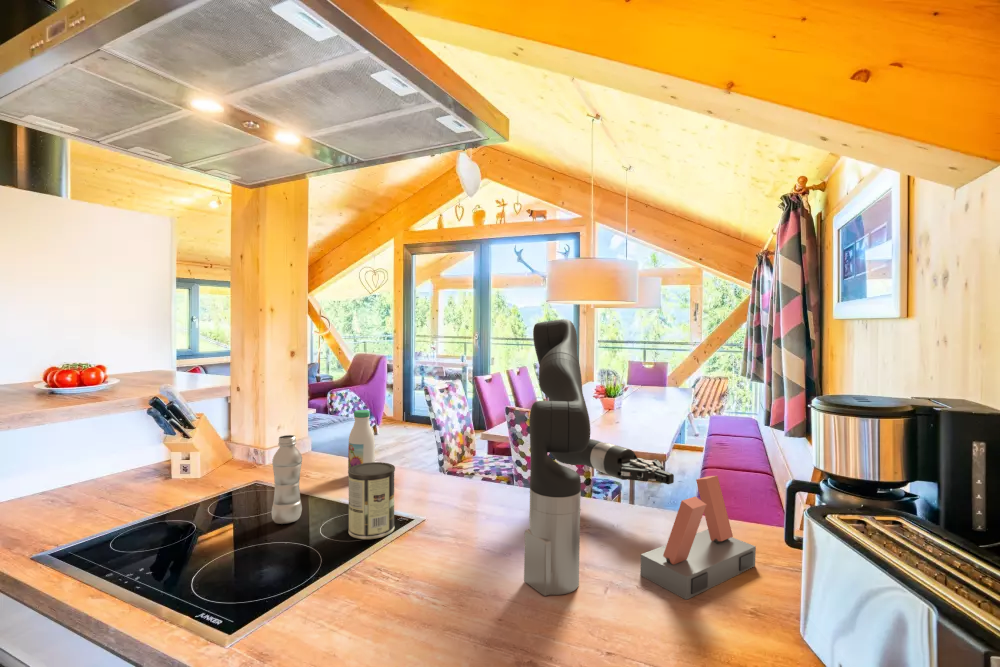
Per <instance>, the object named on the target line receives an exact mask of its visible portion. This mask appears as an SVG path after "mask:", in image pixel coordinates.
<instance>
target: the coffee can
mask: <svg viewBox="0 0 1000 667" xmlns="http://www.w3.org/2000/svg"><path fill="white" fill-rule="evenodd" d="M347 469H348V468H347ZM395 471H396V467H395V465H393V464H391V463H388V462H383V461H382V462H381V461H380V462H379V461H377V462H371V463H363V464H358V465H355V466H353V467H351V468H349V469H348V470H347V475H348V474H349V476H348V531H347V532H348V534H349V536H350V537H352V538H354V539H359V540H374V539H379V538H383V537H386V536H389V535H390V534H392V533H393V532H394V531H395V528H396V527H395Z"/></svg>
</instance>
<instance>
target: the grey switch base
mask: <svg viewBox="0 0 1000 667" xmlns="http://www.w3.org/2000/svg"><path fill="white" fill-rule="evenodd" d="M666 546H667V544H665V545H662V546H659V547H656V548H654V549H652V550H649V551H646V552H644V553H640V576H642V577H643V578H645V580H649V581H650V582H652V583H654V584H656V585H658V586H660V587H662V588H663V589H665V590H667V591H668V592H671V593H673V594H674V595H676V596H678V597H680V598H682V599H684V600H686V601H687V600H689V599H691V598H693V597H695V596H697V595H699V594H701V593H703V592H706V591H708V590H710V589H712V588H714V587H715V586H718V585H720V584H721V583H724V582H726V581H728V580H730V579H732V578H734V577H736V576H738V575H741V574H743V573H744V571H745V572H747V571H749V570H750V568H751V569H753V568H754V566H755V567H756V552H757V551H756V550H757V548H756V547H757V546H756V545H754V544H751V543H749V542H746V541H743V540H740V539H737V538H735V537H734V536H733V537H731V538H729V539H727V540H724V541H722V542H719V543H715V542H714V541H711V539H710V535H709V531H708V528H707V529H705V530H702V531H700V532H698V533H696V536H695V538H694V541H693V544H692V547H691V550H690V552H689V555H688V558H687V559H686V560H684V561H682V562H679V563H677V564H674V565H673V564H672V563H671V562H670V563H668V562H667V561H666V558H665V557H664V556H663V554H664V551H665V548H666ZM752 567H753V568H752ZM748 569H749V570H748ZM746 570H747V571H746ZM742 572H743V573H742Z"/></svg>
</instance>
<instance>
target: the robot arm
mask: <svg viewBox="0 0 1000 667" xmlns="http://www.w3.org/2000/svg"><path fill="white" fill-rule="evenodd" d="M532 332H533V333H532V334H533V335H532V337H533V345H534V350H535V354H536V357H537V361H538V365H539V366H538V383H539V388H540V389H541V391H542V392H543V394H544V395H545V397H547V398H548V400H537V401H534V402H533V404H532V405H531V407H530V412H529V422H528V423H529V444H530V445H529V446H530V449H529V450H530V475H529V525H528V529H525V530H524V550H523V551H524V555H523V556H524V559H523V560H524V563H523V564H524V565H523V568H524V570H523V581H524V582H525V583H526V584H527V585H529V586H530V587H532V588H533V589H534V590H536V591H537V592H538V593H540V594H541V595H542V596H544V597H546V596H549V595H555V596H556V595H557V596H559V595H565V594H566V595H567V594H570V593H573V592H575V590H577V588H579V585H580V550H581V549H580V548H581V547H580V539H581V499H582V498H581V495H582V488H581V487H582V485H581V484H582V481H581V476H580V474H579V473H578V472H577V471H575V470H574V469H572V468H570V467H567V466H564V465H562V464H566V465H574V466H575V465H576V466H587V467H589V468H592V469H594V470H597V471H599V472H601V473H603V474H604V475H605V474H606V475H608V476H611V477H614V478H616V479H620V480H622V481H626V480H629V481H638V482H649V481H651V482H656V481H657V482H660V483H662V484H666V485H672V484H674V482H675V480H674V479H675V476H674V473H672V472H668V471H666V470H664V465H663V464H662V463H661V462H660V460H658V459H653V460H652V462H649V461H647V460H645V458H641V457H640V458H639V457H637V455H636V452H634V450H633V449H631V448H628V447H623V446H620V445H616V444H613V443H609V442H603V441H599V440H596V439H593V438H591V421H590V416H589V415H590V414H589V412H588V408H587V407H588V406H587V404H586V401H585V396H584V393H583V382H582V372H581V365H580V361H579V356H578V334H577V330H576V327H575V325H574V323H573V322H572V321H571V320H570V319H566V318H565V319H564V318H563V319H555V320H548V321H542V322H541V321H540V322H537V323H535V324H534V326H533V329H532ZM548 453H550V454H551V456H552V457H553V458H554V459H555V460H556V461H558V462H559V463H558V462H556V461H555V460H553V459H552V458H551V457H550V455H548ZM560 463H561V464H560Z"/></svg>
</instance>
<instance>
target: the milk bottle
mask: <svg viewBox="0 0 1000 667" xmlns="http://www.w3.org/2000/svg"><path fill="white" fill-rule="evenodd" d="M370 416H371V413H370V410H367V409H358V410H355V411H354V412H353V419H354V423H353V425H352V426H353V427H352V429H351V430H350V433H349V436H348V449H347V450H348V452H347V453H348V458H347V459H348V462H347V469H349V468H351V467H353V466H355V465H358V464H363V463H371V462H375V461H376V460H375V459H376V455H375V454H376V453H375V452H376V444H375V440H376V439H375V434H374V431H373V428H372V427H371V423H370V418H371V417H370ZM347 476H348V477H349V474H348V473H347Z"/></svg>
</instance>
